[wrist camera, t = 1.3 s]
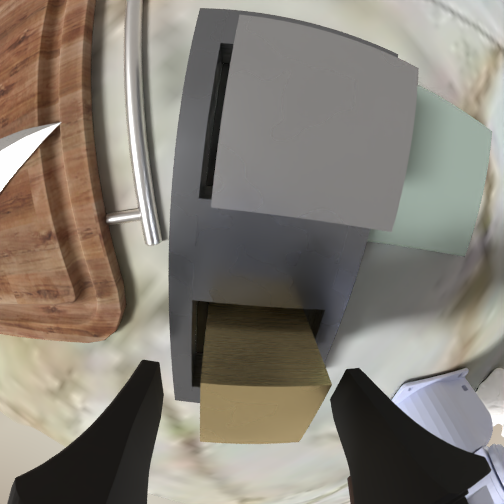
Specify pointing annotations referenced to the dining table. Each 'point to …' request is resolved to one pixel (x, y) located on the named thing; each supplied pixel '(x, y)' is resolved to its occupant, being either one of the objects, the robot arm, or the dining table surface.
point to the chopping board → (62, 174)
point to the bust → (494, 396)
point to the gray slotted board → (243, 226)
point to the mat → (440, 179)
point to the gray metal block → (314, 126)
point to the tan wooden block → (259, 375)
